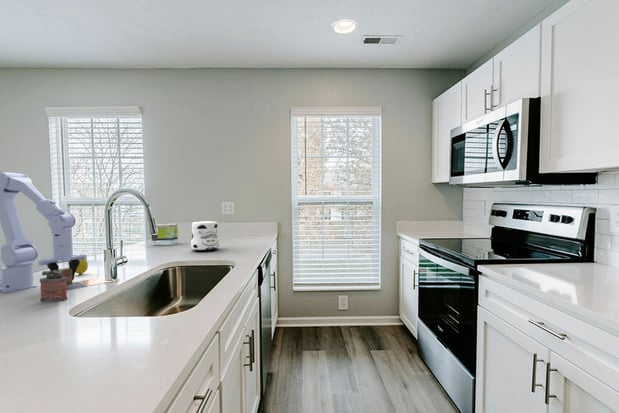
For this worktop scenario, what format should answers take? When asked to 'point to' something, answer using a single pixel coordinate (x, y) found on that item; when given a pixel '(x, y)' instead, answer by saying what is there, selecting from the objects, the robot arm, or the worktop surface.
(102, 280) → the tile
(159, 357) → the worktop surface
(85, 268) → the lemon
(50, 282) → the lighter
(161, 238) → the tea box
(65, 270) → the walnut block
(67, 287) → the mat
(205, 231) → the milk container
